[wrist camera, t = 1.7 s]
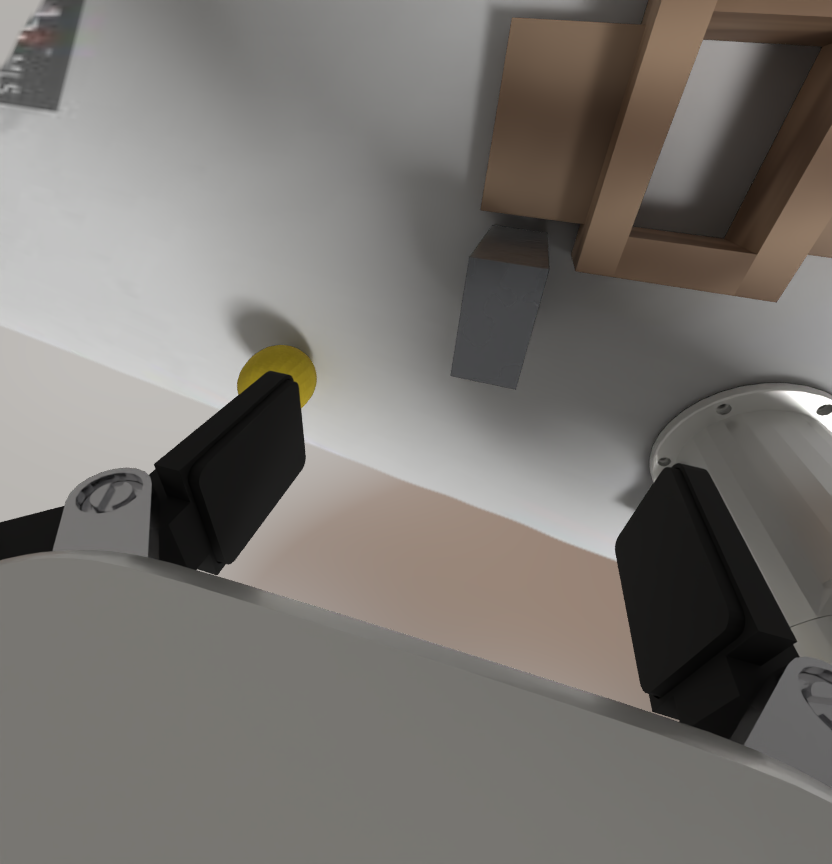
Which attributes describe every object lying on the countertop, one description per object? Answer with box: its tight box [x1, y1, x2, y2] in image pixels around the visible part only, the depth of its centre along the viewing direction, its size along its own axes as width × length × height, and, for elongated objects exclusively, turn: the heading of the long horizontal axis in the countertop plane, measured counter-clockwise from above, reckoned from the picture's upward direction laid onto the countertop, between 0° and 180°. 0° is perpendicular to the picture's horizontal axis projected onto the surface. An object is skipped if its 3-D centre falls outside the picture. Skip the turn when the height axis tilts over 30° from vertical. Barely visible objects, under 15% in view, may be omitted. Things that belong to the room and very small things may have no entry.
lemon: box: [237, 345, 317, 408], centre depth 32 cm, size 6×6×8 cm
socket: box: [481, 0, 832, 302], centre depth 19 cm, size 12×22×4 cm, turn 84°
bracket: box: [451, 225, 549, 389], centre depth 23 cm, size 6×4×10 cm, turn 174°
